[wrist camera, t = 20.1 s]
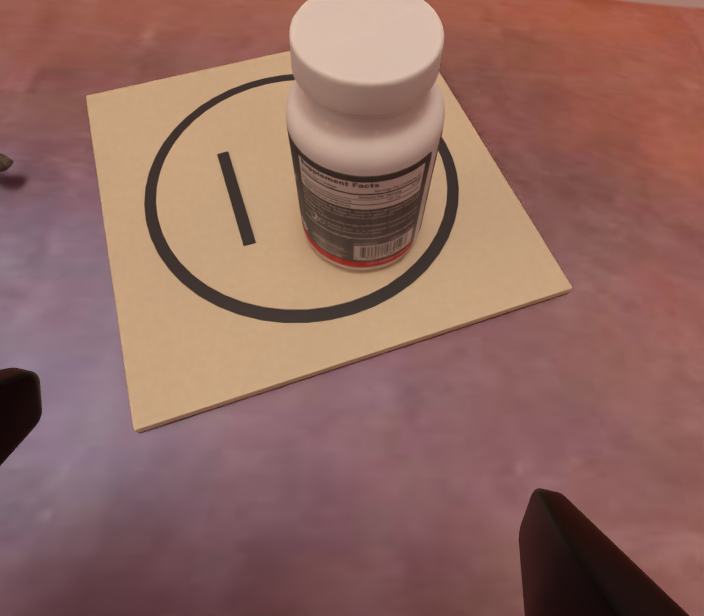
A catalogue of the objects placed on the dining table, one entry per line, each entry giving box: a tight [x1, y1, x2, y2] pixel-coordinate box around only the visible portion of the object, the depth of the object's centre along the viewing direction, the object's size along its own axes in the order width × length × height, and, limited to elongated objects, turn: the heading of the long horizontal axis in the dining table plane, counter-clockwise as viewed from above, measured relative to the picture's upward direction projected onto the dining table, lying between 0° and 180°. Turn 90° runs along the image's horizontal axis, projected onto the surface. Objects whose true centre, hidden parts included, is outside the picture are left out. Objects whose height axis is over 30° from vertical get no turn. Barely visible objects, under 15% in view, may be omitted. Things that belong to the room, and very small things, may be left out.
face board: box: [86, 51, 572, 433], centre depth 25 cm, size 20×20×1 cm
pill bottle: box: [286, 0, 445, 270], centre depth 19 cm, size 6×6×10 cm
